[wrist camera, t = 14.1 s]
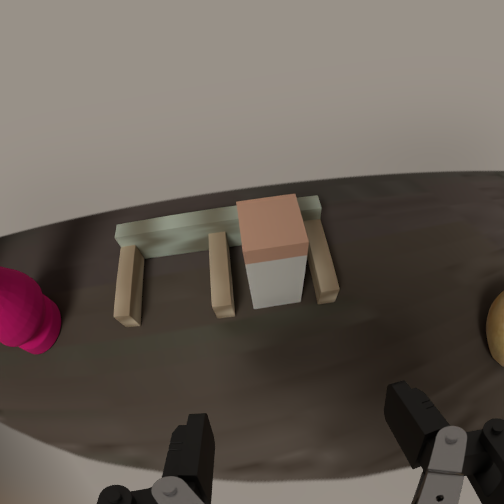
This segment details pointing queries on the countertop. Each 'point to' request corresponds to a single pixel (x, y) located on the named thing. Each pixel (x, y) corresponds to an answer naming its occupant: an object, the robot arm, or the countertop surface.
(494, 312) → the onion
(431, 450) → the robot arm
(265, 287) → the plug
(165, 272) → the countertop surface
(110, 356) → the countertop surface
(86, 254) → the countertop surface
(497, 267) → the countertop surface
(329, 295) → the comb rack
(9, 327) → the pepper mill
